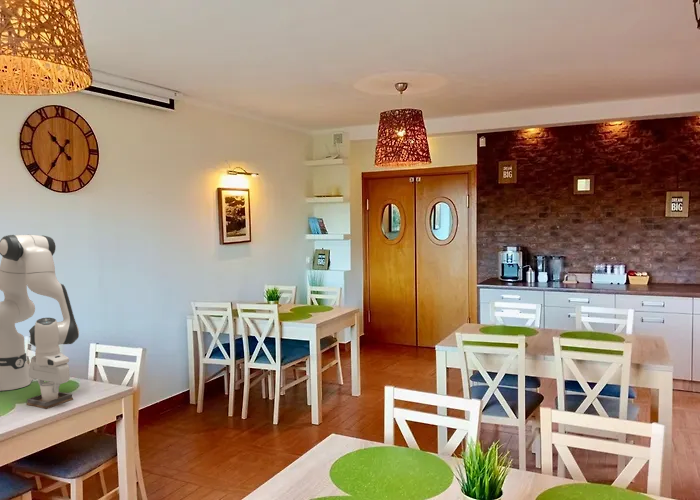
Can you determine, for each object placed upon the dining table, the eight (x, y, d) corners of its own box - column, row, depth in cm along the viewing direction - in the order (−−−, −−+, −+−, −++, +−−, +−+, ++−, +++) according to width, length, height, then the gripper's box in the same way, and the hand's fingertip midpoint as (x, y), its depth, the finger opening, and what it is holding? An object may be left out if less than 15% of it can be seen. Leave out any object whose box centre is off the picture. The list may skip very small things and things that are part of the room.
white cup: (63, 397, 228) (62, 380, 227) (52, 403, 221) (51, 386, 221) (48, 396, 229) (47, 380, 228) (36, 402, 222) (35, 385, 221)
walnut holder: (26, 404, 222) (26, 399, 222) (53, 395, 233) (53, 390, 233) (46, 408, 217) (46, 403, 217) (73, 399, 228) (72, 394, 228)
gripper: (23, 357, 225) (25, 390, 226) (57, 362, 216) (59, 396, 217) (38, 353, 231) (39, 385, 232) (71, 358, 222) (73, 391, 223)
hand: (49, 391), depth 224 cm, fingers open, 6 cm apart
